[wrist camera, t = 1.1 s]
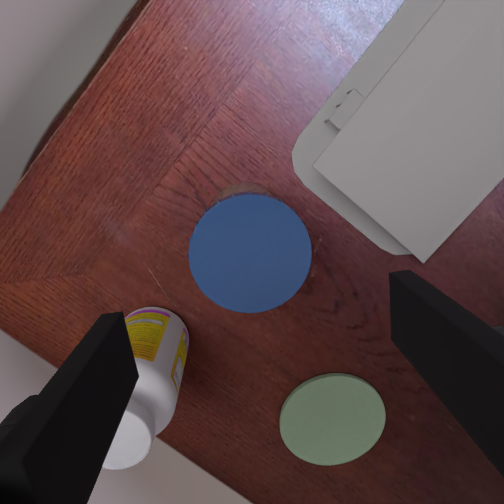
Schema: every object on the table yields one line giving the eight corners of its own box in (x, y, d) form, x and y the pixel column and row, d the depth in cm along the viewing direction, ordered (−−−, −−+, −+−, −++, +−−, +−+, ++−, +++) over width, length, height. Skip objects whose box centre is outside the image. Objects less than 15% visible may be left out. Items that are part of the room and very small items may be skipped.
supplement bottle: (104, 331, 35) (32, 434, 22) (157, 290, 34) (113, 373, 21) (152, 379, 36) (111, 499, 24) (204, 341, 35) (189, 445, 23)
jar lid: (201, 311, 25) (199, 322, 23) (180, 199, 23) (176, 203, 21) (312, 295, 25) (317, 304, 23) (301, 182, 23) (306, 185, 21)
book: (277, 163, 31) (283, 165, 27) (478, -93, 27) (517, -132, 23) (404, 268, 34) (425, 283, 31) (602, 54, 30) (655, 41, 26)
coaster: (285, 467, 40) (285, 472, 40) (273, 381, 37) (273, 385, 36) (385, 453, 40) (387, 457, 40) (381, 365, 37) (383, 368, 37)
